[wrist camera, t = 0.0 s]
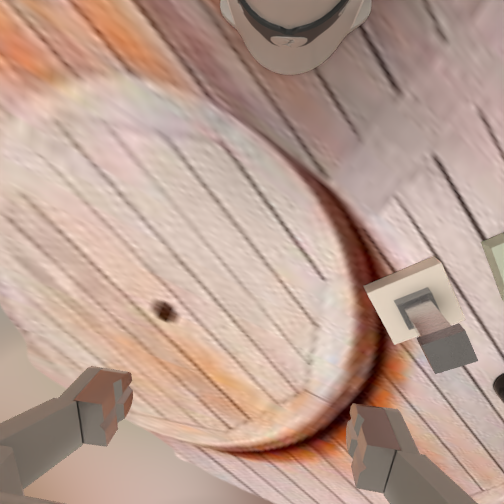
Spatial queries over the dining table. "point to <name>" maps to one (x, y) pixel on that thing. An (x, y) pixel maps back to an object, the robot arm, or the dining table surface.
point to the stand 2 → (496, 259)
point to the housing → (435, 332)
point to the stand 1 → (408, 283)
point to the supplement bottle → (500, 387)
